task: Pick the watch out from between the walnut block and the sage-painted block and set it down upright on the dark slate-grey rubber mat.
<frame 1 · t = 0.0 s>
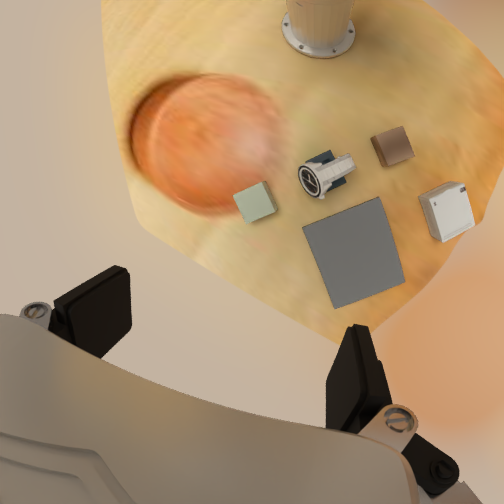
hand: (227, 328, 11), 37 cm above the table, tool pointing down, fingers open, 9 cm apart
sage block: (258, 200, 47), on the table
slate mat: (357, 255, 46), on the table
small box: (440, 207, 41), on the table
watch: (324, 172, 43), on the table
walnut block: (388, 147, 40), on the table
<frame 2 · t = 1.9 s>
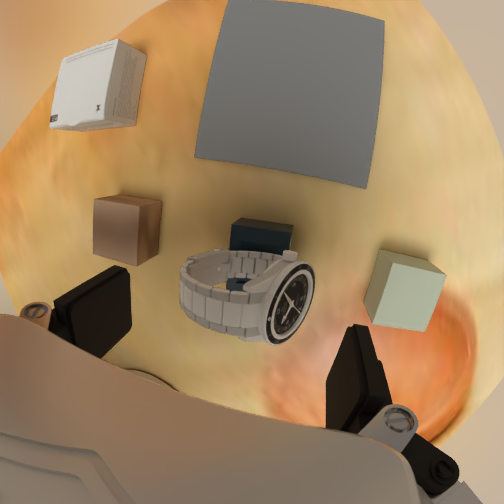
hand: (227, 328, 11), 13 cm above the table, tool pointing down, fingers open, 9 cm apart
sage block: (396, 281, 22), on the table
slate mat: (294, 78, 19), on the table
small box: (112, 94, 23), on the table
watch: (264, 252, 24), on the table
walnut block: (138, 223, 25), on the table
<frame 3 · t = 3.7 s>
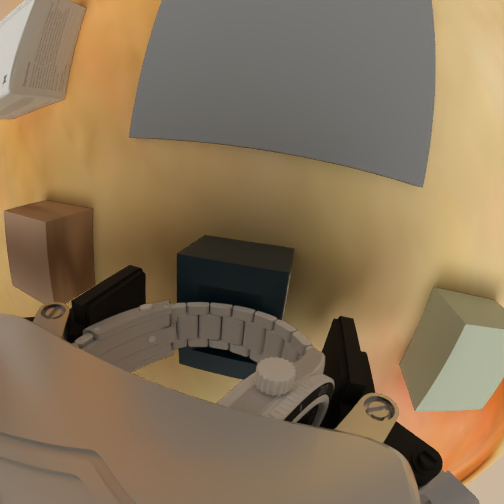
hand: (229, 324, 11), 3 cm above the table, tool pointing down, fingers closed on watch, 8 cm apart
sage block: (449, 332, 13), on the table
slate mat: (293, 5, 9), on the table
small box: (46, 65, 13), on the table
watch: (245, 292, 14), on the table, touching gripper
walnut block: (69, 240, 16), on the table
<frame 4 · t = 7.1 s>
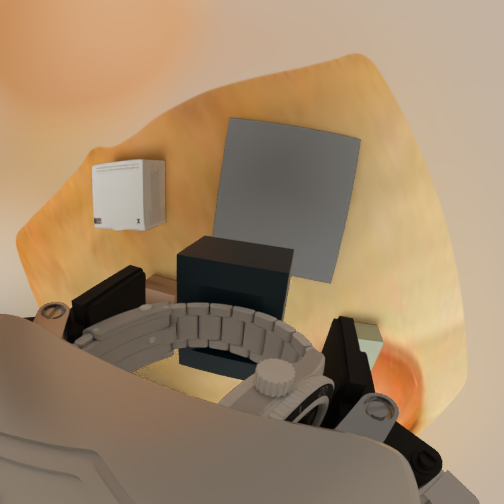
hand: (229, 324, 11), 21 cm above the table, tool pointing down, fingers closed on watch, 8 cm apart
sage block: (352, 338, 33), on the table
slate mat: (283, 199, 30), on the table
small box: (140, 192, 33), on the table
watch: (245, 292, 14), point 17 cm above the table, touching gripper
walnut block: (169, 295, 36), on the table
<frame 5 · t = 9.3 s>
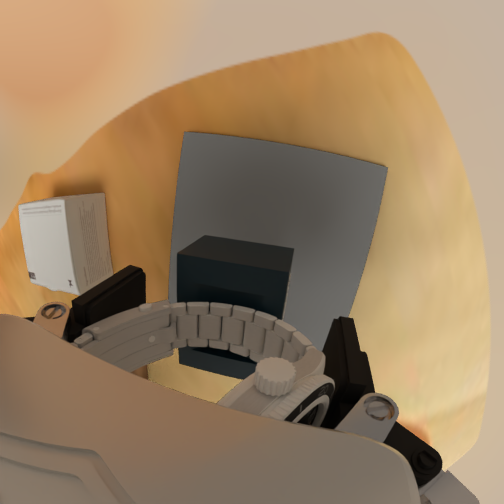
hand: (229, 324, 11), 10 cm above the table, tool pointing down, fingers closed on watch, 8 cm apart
slate mat: (264, 257, 20), on the table
small box: (82, 233, 23), on the table
watch: (245, 292, 14), point 6 cm above the table, touching gripper
when the fingers open (5 cm above the table, at t = 10.9 s): watch drops 1 cm, resting on slate mat.
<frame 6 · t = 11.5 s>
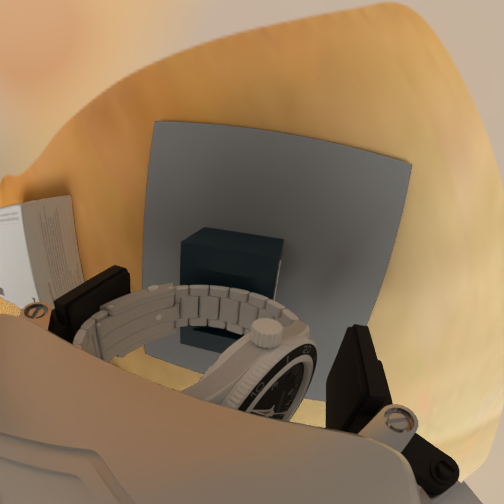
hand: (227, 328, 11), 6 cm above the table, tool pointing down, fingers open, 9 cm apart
slate mat: (254, 276, 16), on the table
small box: (53, 241, 19), on the table
watch: (240, 279, 16), resting on slate mat, touching gripper
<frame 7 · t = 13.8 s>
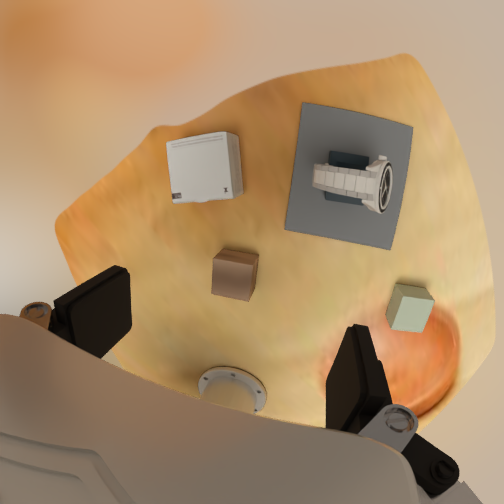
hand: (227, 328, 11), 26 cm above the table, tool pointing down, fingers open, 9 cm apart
sage block: (405, 301, 35), on the table
slate mat: (350, 176, 32), on the table
small box: (213, 167, 35), on the table
watch: (345, 176, 32), resting on slate mat
walnut block: (239, 268, 39), on the table
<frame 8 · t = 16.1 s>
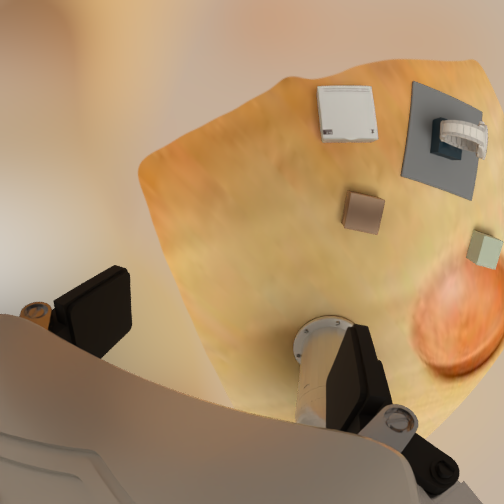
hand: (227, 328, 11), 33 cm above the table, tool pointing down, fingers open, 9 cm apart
sage block: (479, 246, 37), on the table
slate mat: (445, 140, 34), on the table
small box: (344, 118, 37), on the table
watch: (442, 140, 33), resting on slate mat
walnut block: (360, 209, 40), on the table
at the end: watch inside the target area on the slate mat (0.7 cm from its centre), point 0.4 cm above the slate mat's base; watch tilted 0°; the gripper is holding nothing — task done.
